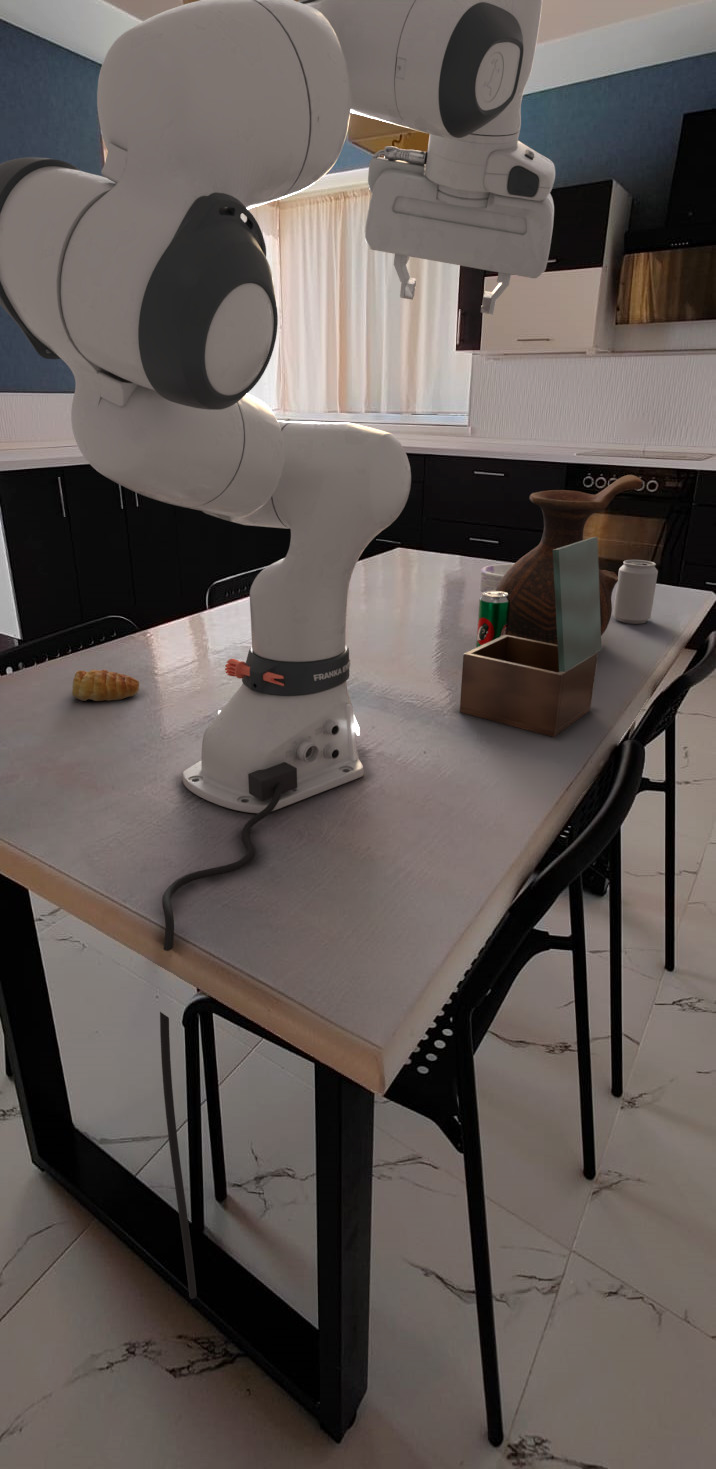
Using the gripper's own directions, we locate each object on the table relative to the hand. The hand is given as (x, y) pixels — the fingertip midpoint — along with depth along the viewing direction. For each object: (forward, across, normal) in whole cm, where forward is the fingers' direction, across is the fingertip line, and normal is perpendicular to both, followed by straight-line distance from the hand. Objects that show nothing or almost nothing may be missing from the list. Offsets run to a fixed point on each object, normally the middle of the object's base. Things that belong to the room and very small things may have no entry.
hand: (447, 304), depth 89 cm
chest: (+46, +22, -16) cm, 53 cm away
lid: (+29, +24, -11) cm, 39 cm away
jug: (+61, +27, +16) cm, 68 cm away
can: (+67, +45, +37) cm, 88 cm away
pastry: (+53, -40, -26) cm, 71 cm away
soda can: (+56, +17, +3) cm, 59 cm away
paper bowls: (+74, +21, +42) cm, 88 cm away
